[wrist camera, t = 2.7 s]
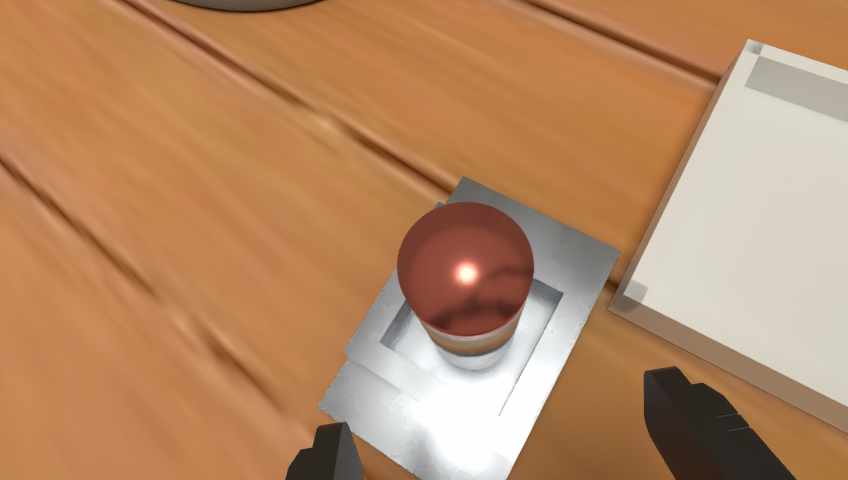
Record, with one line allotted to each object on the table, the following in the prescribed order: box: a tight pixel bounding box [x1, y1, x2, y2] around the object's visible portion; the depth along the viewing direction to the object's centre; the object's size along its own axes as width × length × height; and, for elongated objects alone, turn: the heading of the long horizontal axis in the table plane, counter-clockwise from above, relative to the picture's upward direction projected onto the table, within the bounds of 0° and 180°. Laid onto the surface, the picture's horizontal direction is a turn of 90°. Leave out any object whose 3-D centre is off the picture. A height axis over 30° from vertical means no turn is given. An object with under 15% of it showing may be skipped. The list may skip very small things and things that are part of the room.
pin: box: [397, 202, 534, 370], centre depth 19 cm, size 4×4×10 cm
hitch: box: [317, 176, 621, 480], centre depth 23 cm, size 14×9×3 cm, turn 148°
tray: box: [607, 39, 848, 434], centre depth 23 cm, size 16×12×3 cm
